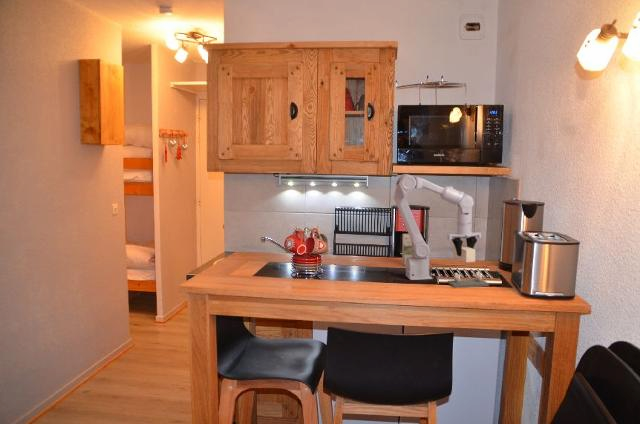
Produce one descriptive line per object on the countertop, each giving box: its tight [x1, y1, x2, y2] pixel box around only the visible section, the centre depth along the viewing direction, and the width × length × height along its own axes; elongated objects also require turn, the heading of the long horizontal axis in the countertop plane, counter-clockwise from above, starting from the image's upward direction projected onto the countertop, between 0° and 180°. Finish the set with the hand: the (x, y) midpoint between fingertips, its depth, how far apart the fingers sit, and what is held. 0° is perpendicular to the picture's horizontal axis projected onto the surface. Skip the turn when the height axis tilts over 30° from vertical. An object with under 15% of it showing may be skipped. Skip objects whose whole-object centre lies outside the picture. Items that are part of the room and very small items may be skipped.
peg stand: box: [447, 271, 490, 289], centre depth 196 cm, size 14×7×4 cm, turn 96°
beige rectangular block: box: [453, 244, 476, 263], centre depth 206 cm, size 11×4×5 cm, turn 12°
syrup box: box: [401, 233, 414, 267], centre depth 232 cm, size 6×6×14 cm
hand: (464, 255), depth 206 cm, fingers closed on beige rectangular block, 4 cm apart
